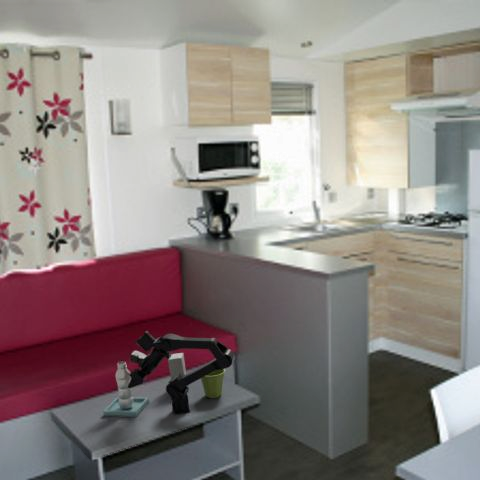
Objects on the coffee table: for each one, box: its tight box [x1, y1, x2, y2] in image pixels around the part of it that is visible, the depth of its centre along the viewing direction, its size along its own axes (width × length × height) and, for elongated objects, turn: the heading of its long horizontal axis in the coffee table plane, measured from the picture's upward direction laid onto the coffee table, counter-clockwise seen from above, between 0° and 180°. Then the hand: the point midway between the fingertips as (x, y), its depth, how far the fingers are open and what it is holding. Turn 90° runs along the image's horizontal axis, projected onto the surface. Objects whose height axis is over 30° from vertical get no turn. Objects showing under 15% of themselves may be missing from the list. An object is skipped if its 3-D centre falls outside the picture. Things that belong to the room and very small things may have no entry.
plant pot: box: [200, 368, 226, 399], centre depth 292 cm, size 12×12×11 cm
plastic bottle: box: [114, 361, 134, 409], centre depth 283 cm, size 6×7×20 cm
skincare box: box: [167, 352, 189, 388], centre depth 302 cm, size 8×7×16 cm
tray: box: [102, 396, 150, 418], centre depth 285 cm, size 15×15×2 cm
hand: (132, 383), depth 282 cm, fingers open, 9 cm apart
